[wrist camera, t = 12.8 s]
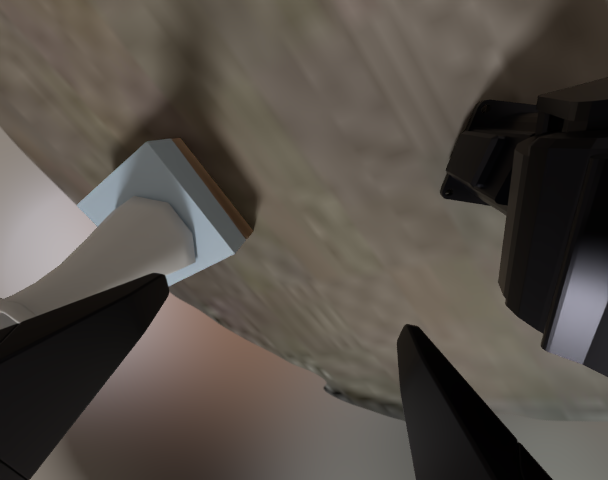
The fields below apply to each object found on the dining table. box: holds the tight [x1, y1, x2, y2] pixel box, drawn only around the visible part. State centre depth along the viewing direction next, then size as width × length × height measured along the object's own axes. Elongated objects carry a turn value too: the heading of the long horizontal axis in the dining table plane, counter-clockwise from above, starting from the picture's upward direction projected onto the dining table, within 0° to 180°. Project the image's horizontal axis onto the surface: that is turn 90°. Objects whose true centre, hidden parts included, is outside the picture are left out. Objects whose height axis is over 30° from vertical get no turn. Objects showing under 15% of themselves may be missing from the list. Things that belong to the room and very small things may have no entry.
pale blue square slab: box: [77, 138, 246, 286], centre depth 20 cm, size 10×10×2 cm
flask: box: [0, 196, 196, 329], centre depth 15 cm, size 7×7×10 cm
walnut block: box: [172, 138, 253, 239], centre depth 23 cm, size 10×10×2 cm
